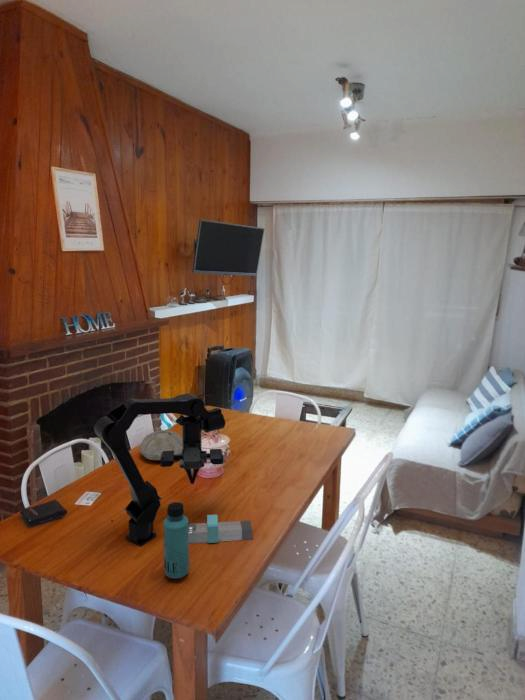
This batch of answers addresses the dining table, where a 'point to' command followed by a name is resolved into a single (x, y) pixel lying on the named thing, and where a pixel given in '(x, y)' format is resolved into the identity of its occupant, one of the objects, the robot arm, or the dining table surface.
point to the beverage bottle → (176, 542)
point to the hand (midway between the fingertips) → (192, 483)
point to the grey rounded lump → (161, 444)
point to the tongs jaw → (225, 524)
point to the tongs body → (219, 533)
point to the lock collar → (212, 528)
